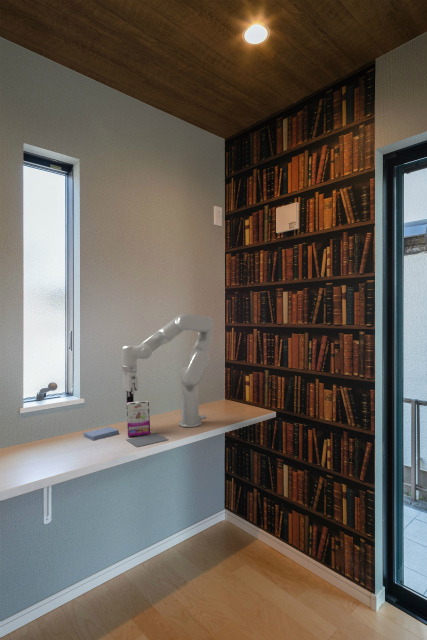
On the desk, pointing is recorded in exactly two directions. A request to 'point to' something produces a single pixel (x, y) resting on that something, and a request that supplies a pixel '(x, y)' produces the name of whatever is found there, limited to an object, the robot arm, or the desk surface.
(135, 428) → the candy bar box
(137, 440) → the mat
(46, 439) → the desk surface
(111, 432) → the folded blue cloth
